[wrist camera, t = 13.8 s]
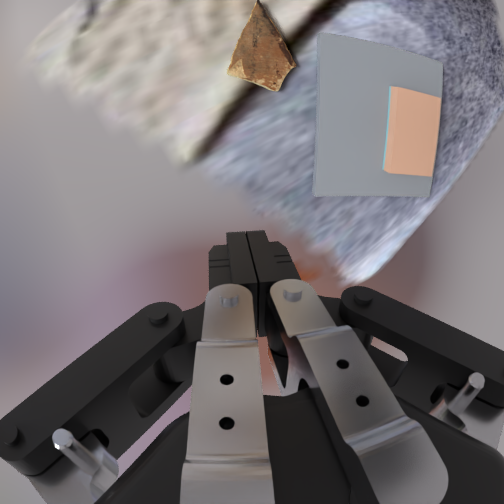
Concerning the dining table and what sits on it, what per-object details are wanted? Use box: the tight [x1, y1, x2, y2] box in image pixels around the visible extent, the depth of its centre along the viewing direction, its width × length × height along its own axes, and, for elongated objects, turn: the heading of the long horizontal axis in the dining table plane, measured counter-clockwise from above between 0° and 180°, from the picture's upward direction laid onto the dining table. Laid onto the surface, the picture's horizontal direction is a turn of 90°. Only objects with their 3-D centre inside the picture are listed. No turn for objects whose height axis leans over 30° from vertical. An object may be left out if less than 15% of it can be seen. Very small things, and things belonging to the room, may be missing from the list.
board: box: [312, 32, 443, 197], centre depth 35 cm, size 22×20×1 cm
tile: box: [382, 86, 441, 177], centre depth 35 cm, size 12×2×8 cm
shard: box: [227, 0, 296, 92], centre depth 30 cm, size 11×8×2 cm
